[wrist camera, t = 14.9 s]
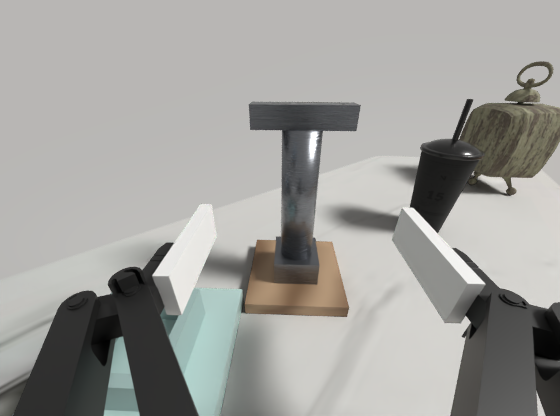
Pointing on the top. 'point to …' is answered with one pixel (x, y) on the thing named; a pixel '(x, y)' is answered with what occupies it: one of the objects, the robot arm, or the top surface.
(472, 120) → the tabletop clock
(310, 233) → the t key
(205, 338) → the square socket base
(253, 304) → the walnut pad
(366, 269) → the top surface
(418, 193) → the drinking cup
